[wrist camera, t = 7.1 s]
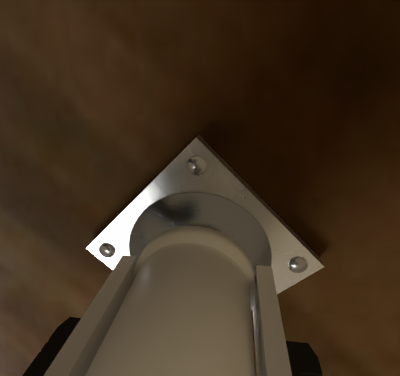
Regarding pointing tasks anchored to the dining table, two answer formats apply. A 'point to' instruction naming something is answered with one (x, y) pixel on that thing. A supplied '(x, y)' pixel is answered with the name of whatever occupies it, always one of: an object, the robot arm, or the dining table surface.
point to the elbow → (184, 310)
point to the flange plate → (208, 216)
